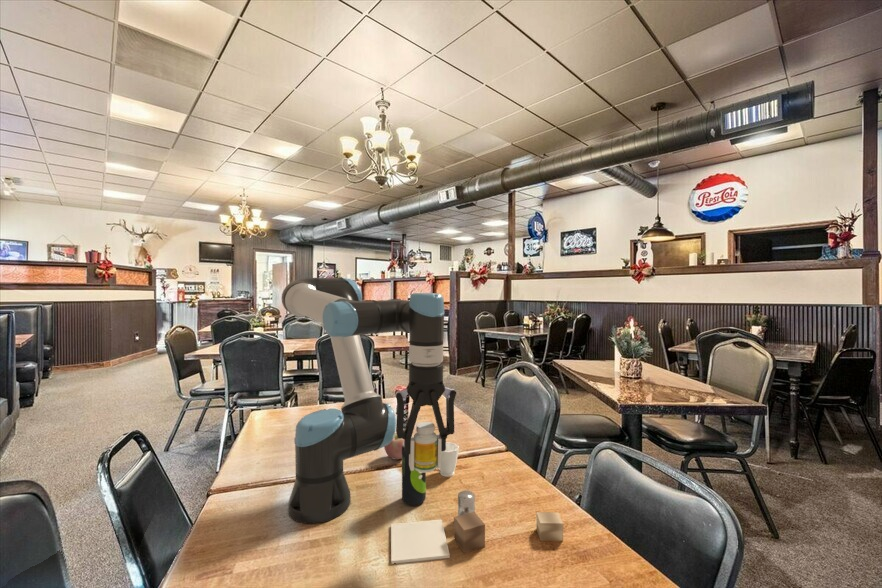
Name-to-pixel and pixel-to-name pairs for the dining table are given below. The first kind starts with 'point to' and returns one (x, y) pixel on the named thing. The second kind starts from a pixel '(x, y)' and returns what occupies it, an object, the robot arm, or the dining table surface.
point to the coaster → (418, 541)
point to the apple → (395, 448)
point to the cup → (449, 459)
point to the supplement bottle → (425, 448)
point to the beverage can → (412, 483)
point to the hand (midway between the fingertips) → (424, 466)
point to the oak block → (549, 526)
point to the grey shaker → (466, 502)
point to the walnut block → (469, 532)
